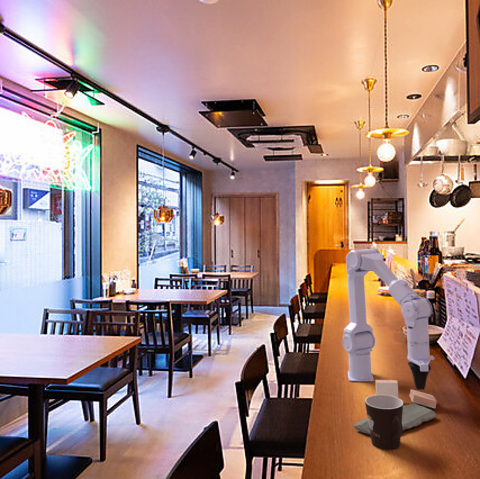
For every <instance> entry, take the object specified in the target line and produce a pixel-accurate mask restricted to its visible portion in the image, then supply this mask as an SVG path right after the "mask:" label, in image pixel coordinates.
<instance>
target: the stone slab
mask: <svg viewBox="0 0 480 479" xmlns="http://www.w3.org/2000/svg"><path fill="white" fill-rule="evenodd" d="M436 417H437V413H436V412H435V411H433V410H432V409H430V408H427V407H426V406H424V405H420V404H418V403H411V404H406V405H403V413H402V428H403V431H405V430H408V429H411V428H413V427H417V426H419V425H422V423H424V422H429V421H431V420H433V419H434V418H436ZM353 428H354V429H355V430H357V431H359V432H360V433H363V434H367V435H370V429H369V423H368V417H366V418H364V419H361V420H359V421H357V423H355V424H353Z"/></svg>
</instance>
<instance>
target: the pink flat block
mask: <svg viewBox="0 0 480 479" xmlns="http://www.w3.org/2000/svg"><path fill="white" fill-rule="evenodd" d="M409 398H410V400H411V402H412V403H413V404H417V405H420V406H424V407H428V408H432V409H436V406H437V403H438V401H437V400H436V398H435V396H434V395H432V394H429V393H427V392H426V393H425V392H421V391H419V390H417V389H416V390H415V389H413V388H412V389H411V388H410V392H409Z"/></svg>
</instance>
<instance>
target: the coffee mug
mask: <svg viewBox="0 0 480 479" xmlns="http://www.w3.org/2000/svg"><path fill="white" fill-rule="evenodd" d="M364 404H365V410H366V416H367V417H366V418H368V423H369V429H370V434H369V435H370V440H371V444H372V446H373V447H375V448H376V449H380V450H383V451H395V450H397V449H399V448H400V447H401V437H402V434H403V431H404V430H403V428H402V413H403V406H404V401H403V399H401V398H399V397H398V398H397V397H394V396H390V395H376V394H374V395H373V394H372V395H369V396H367V397H366V398H365V399H364Z"/></svg>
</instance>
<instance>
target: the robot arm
mask: <svg viewBox="0 0 480 479" xmlns="http://www.w3.org/2000/svg"><path fill="white" fill-rule="evenodd" d="M345 261H346V262H345V265H346V276H347V290H348V291H347V292H348V293H347V295H348V309H349V310H348V312H349V323H348V324H347V325H346V326H345V327H344V328H343V336H342V346H343V348H344V351H346V353H347V354H348V370H347V377H348V382H375V380H374V376H373V372H372V360H371V359H372V358H371V352H373V348H375V345H376V337H375V334H374V330H373V329H374V328H373V327H372V326H371V325H370V324H369V323H367V322H368V321H367V309H366V293H365V292H366V290H365V276H366V275H367V274H368V273H369V272H373V273H374V274H375V275H376V276H377V277H378V278H379V279H380V280H382V282H384V284H385V285H386V286H388V289H387V290H388V293H389V295H390V296H391V297H392V298H393V299H394V301H396V303H397V304H398V305H399V306H400V308H401V309H400V311H401V315H402V317H403V318H404V324H405V326H406V337H407V340H406V341H407V356H406V357H407V358H406V359H407V360H408V362H407V364H408V366H409V369H410V371H411V375H412V378H413V382H414V386H415V389H416V390H422V391H424V390H425V388H426V384H427V380H428V375H429V374H430V371H431V369H432V366H431V365H430V362H431V361H434V360H435V357H434V355H430V338H429V336H430V335H429V334H430V332H429V318H430V317H431V316H432V314H433V306H432V303H431V302H430V301H429V299H428V298H426V297H421V296H420V295H418V294H417V293H416V292H415V290H414V289H413V288H411V287H410V285H409V283H408V282H407V281H406V280H404V279H398V278H397V277H396V275H395V274H394V273H393V271H392V270H391V269H390V267H389V266H388V265H387V263H386V262H385V261H384V255H383V254H382V253H381V251H380V250H379V249H377V248H376V247H372V248H362V249H351V250H350V251H349V252H348V253H347V254H346V256H345Z"/></svg>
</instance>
